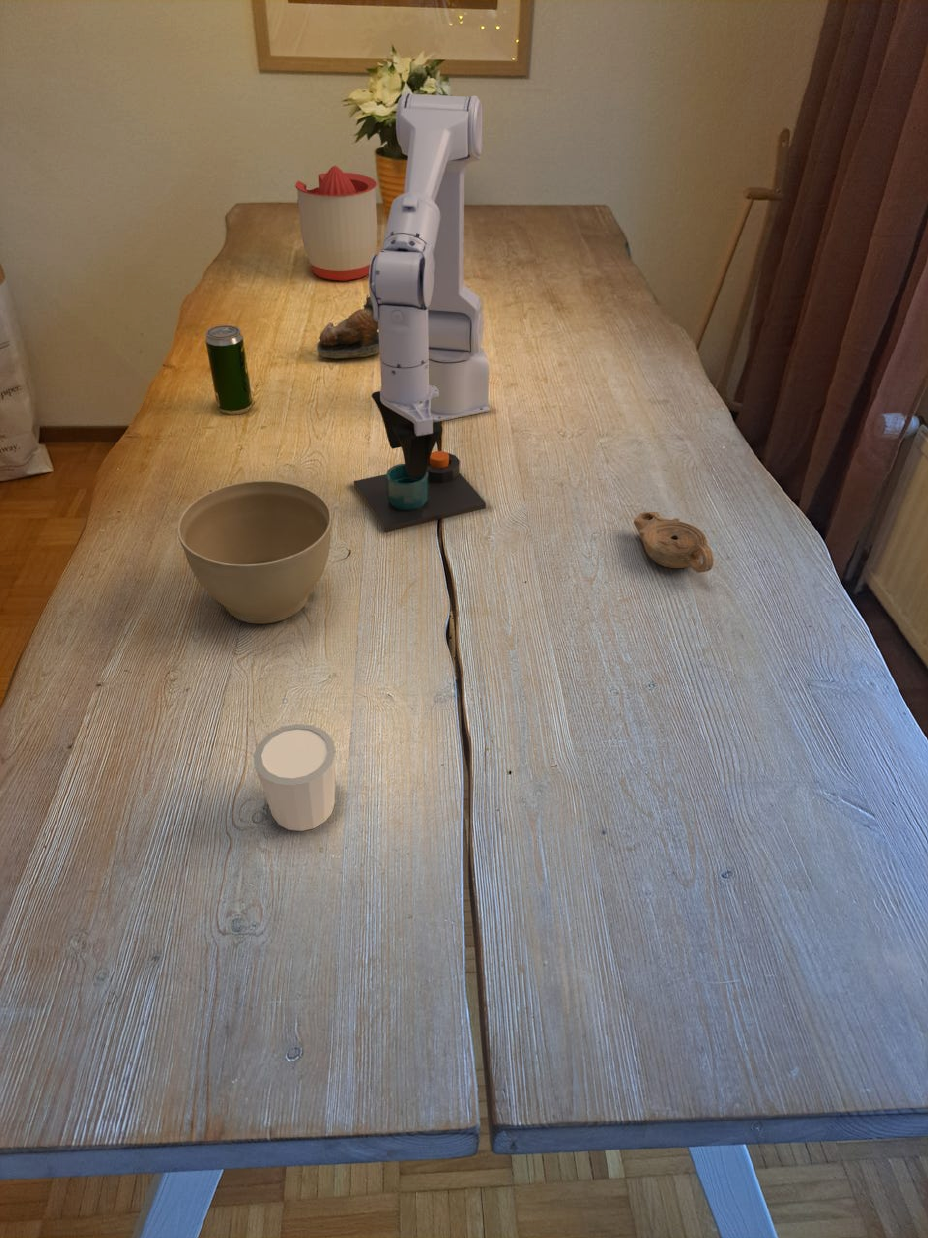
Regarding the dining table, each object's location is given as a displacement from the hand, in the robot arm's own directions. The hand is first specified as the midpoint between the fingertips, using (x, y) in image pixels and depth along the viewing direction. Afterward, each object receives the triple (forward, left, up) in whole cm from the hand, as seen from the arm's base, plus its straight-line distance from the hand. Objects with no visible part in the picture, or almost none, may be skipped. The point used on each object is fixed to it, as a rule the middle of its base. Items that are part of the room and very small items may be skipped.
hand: (407, 460), depth 114 cm
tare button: (-6, -5, -5) cm, 9 cm away
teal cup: (0, 0, -6) cm, 6 cm away
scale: (-2, -1, -7) cm, 7 cm away
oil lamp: (-25, +24, -7) cm, 35 cm away
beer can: (+14, -36, -7) cm, 40 cm away
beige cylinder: (+27, +42, -7) cm, 50 cm away
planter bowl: (+22, +12, -7) cm, 26 cm away
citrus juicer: (-20, -87, -7) cm, 90 cm away
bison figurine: (-9, -47, -7) cm, 49 cm away
